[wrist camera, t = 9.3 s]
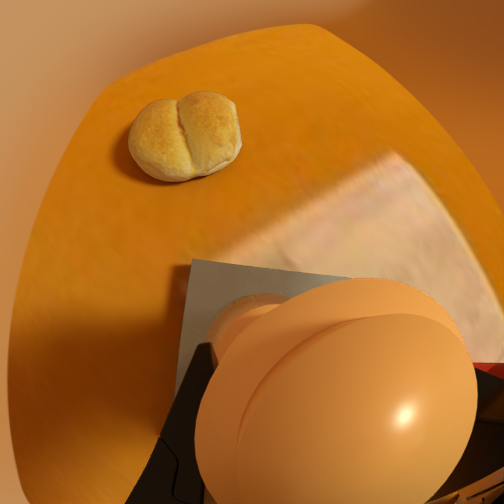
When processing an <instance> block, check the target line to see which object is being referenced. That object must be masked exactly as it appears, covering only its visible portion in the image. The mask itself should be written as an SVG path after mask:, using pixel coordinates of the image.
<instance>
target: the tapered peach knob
mask: <svg viewBox="0 0 504 504" xmlns="http://www.w3.org/2000/svg"><path fill="white" fill-rule="evenodd" d="M216 356H217V359H218V363H219V365H218V367H217V368H216V370H215V372H214V374H213V376H212V377H211V379H210V381H209V384H208V386H207V388H206V391H205V393H204V395H203V398H202V400H201V404H200V408H199V411H198V415H197V419H196V428H195V453H196V460H197V464H198V468H199V471H200V475H201V477H202V479H203V481H204V483H205V485H206V488H207V489H208V491H209V492H210V494H211V495H212V497H213V498H214V500H215V501H216V502H217V503H218V504H424V503H425V502H426V501H428V500H429V499H430V498H431V497H432V496H433V495H434V494H435V493H436V492H437V490H438V489H439V488H440V487H441V486H442V485H443V484H444V482H445V481H446V480H447V478H448V477H449V476H450V474H451V473H452V471H453V470H454V468H455V467H456V465H457V463H458V462H459V460H460V458H461V456H462V454H463V452H464V450H465V448H466V446H467V443H468V441H469V438H470V435H471V432H472V429H473V425H474V421H475V416H476V410H477V396H478V392H477V380H476V375H475V370H474V366H473V363H472V361H471V358H470V356H469V354H468V352H467V350H466V346H465V344H464V341H463V338H462V336H461V333H460V332H459V330H458V328H457V326H456V325H455V323H454V321H453V320H452V319H451V317H450V316H449V315H448V313H447V312H446V311H445V310H444V309H443V308H442V307H441V306H440V305H439V304H438V303H437V302H436V301H435V300H434V299H432V298H431V297H429V296H428V295H426V294H425V293H423V292H422V291H420V290H418V289H416V288H413V287H411V286H409V285H407V284H403V283H400V282H396V281H393V280H387V279H379V278H353V279H348V280H342V281H336V282H332V283H329V284H325V285H322V286H319V287H316V288H313V289H311V290H309V291H306V292H304V293H302V294H300V295H297V296H295V297H293V298H291V299H290V300H288V301H286V302H284V303H283V304H272V305H265V306H261V307H258V308H255V309H253V310H250V311H249V312H247V313H245V314H243V315H242V316H241V317H239V318H238V319H237V320H236V321H235V322H234V323H232V324H231V326H230V327H229V328H228V329H227V331H226V332H225V334H224V335H223V337H222V339H221V341H220V344H219V346H218V350H217V354H216Z"/></svg>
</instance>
